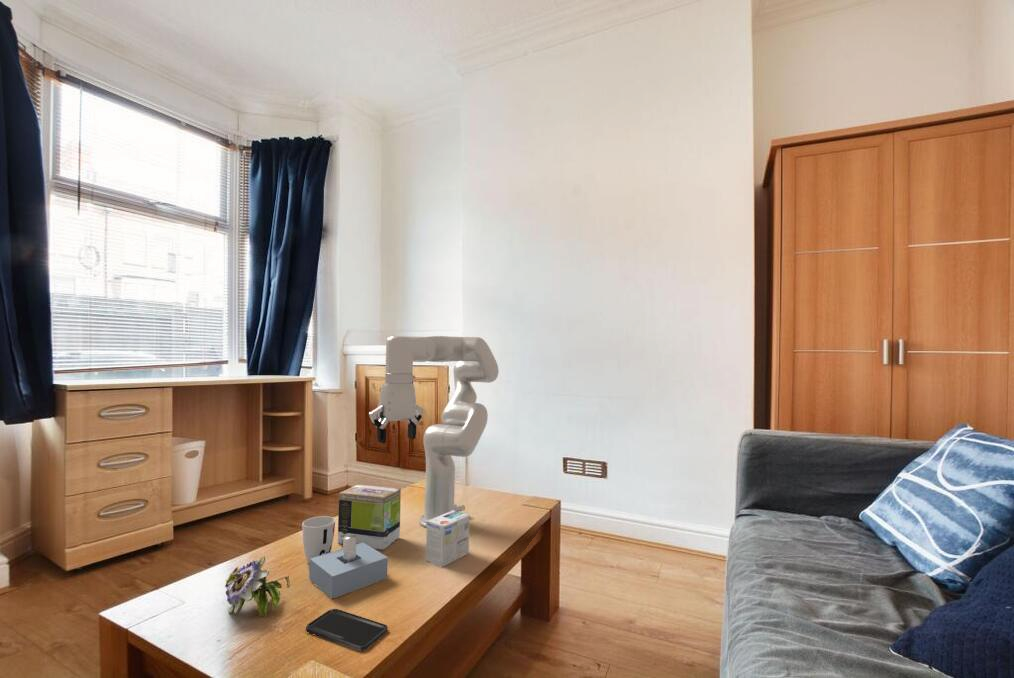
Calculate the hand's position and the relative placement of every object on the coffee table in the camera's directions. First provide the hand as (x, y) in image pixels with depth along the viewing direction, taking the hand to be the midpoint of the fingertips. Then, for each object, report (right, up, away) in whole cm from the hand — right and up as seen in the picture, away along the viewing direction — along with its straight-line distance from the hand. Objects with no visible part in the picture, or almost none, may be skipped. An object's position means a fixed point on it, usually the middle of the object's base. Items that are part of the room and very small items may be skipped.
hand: (396, 440), depth 129 cm
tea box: (-9, -31, +5) cm, 32 cm away
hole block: (-7, -30, -18) cm, 35 cm away
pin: (-7, -30, -18) cm, 35 cm away
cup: (-19, -30, -8) cm, 36 cm away
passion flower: (-23, -29, -30) cm, 48 cm away
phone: (-1, -30, -38) cm, 49 cm away
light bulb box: (+15, -31, -5) cm, 35 cm away
